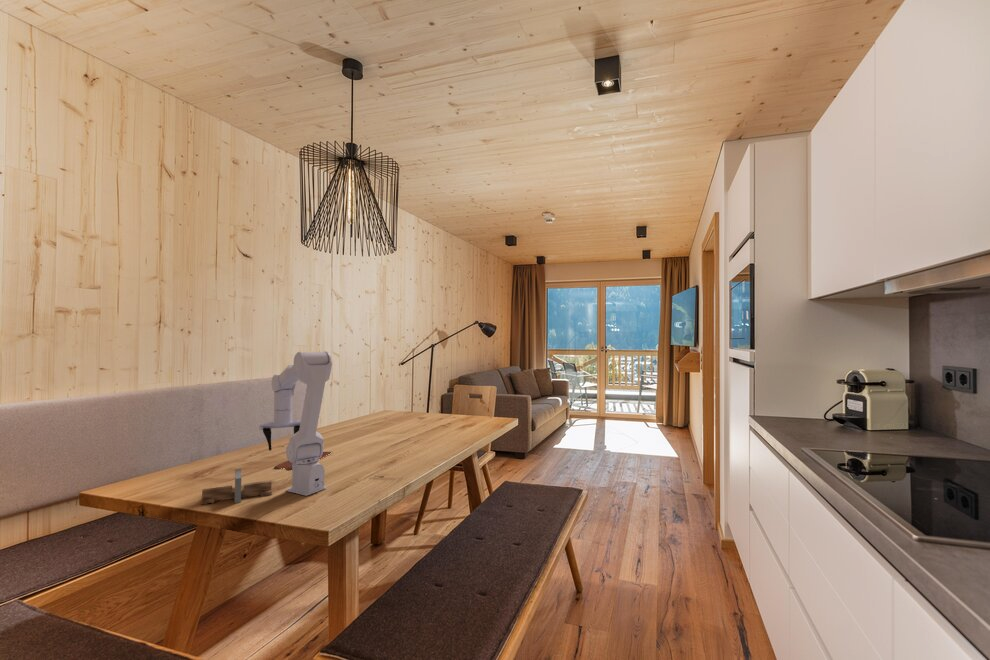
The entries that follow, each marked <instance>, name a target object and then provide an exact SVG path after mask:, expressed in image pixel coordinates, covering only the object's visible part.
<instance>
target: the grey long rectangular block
mask: <svg viewBox="0 0 990 660" xmlns="http://www.w3.org/2000/svg"><path fill="white" fill-rule="evenodd" d="M241 491H242V469H241V468H240V469H235V472H234V492H235V498H234V504H237V502H238V503H241V502H242V497H241Z"/></svg>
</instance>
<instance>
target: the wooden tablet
mask: <svg viewBox="0 0 990 660" xmlns="http://www.w3.org/2000/svg"><path fill="white" fill-rule="evenodd" d="M331 452H332V451H323V454H322V456H321V457H320V458H319V459H320V460H322V459H324V458H326V457H327V456H326V455H328V454H330V453H331ZM330 455H331V454H330ZM325 456H326V457H325ZM328 456H329V455H328ZM323 457H324V458H323ZM321 458H322V459H321ZM281 468H282V469H281ZM283 468H285V469H286V470H285V469H283ZM273 469H274V470H285V471H289V470H292V463H291V462H290V461H289V460H287V461H284V462H281V463H279V464H277V465H275V466H274V467H273Z"/></svg>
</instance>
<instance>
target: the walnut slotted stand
mask: <svg viewBox="0 0 990 660" xmlns="http://www.w3.org/2000/svg"><path fill="white" fill-rule="evenodd" d="M272 483H273V482H272V480H271V479H270V480H264V481H262V480H261V481H256V482H250V483H249V482H248V483H243V490H241V498H245V497H246V498H247V496H248V497H253V496H260V497H266V496H272V495H273V493H272V485H273V484H272ZM201 491H202V492H201V505H202V504H205V505H208V504H207V503H212V504H214V503H215V502H218V501H217V500H220V501H225V500H224V499H227V500H233V499H232V498H234V499H235V491H233V485H225V486H219V487H218V486H217V487H209V488H202V490H201Z"/></svg>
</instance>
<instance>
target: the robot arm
mask: <svg viewBox="0 0 990 660" xmlns="http://www.w3.org/2000/svg"><path fill="white" fill-rule="evenodd" d="M332 367H333V361H332V356H331V354H330V352H328V351H310V352H308V351H306V352H302V351H297V352H296V353H295V355H294V356H293V363H292V364H290V365H289V364H288V365H287V366H286V368H284V370H282V372H281V373H279V374H273V375H272V377H271V389H272V391H273V395H274V397H273V399H274V400H273V421H269V422H260V423H258V430H259V431H262V433H263V435H264V437H265V439H266V441H267V446H268V451H270V452H271V451H272V429H283V428H293V434H292V435H291V436H290V437H289V441H288V443H287V446H286V448H285V449H286V450H285V453H286V458H287V461H290V462H291V463H292V471H291V472H292V474H291V476H292V477H291V487H287V488H286V489H285V492H288V493H293V494H297V495H302V496H306V497H307V496H310V495H312V494H315V493H317V492H321V491H323V490H325V489H327V486H325V467H324V466H323V464H321V463H319V462H318V461H320V460H319V458H320V457H321V456H322V454H323V452H324V438H323V435H322V434H321V433H320V432H318V431H317V430H318V424H319V419H320V413H321V408H322V403H323V398H324V392H325V387H326V382H328V381H329V380H330V377H331V373H332ZM298 382H301V383H303V384H305V385H306V388H305V395H304V401H303V407H302V413H301V419H293V396H294V394H295V389H296V384H297V383H298Z"/></svg>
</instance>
